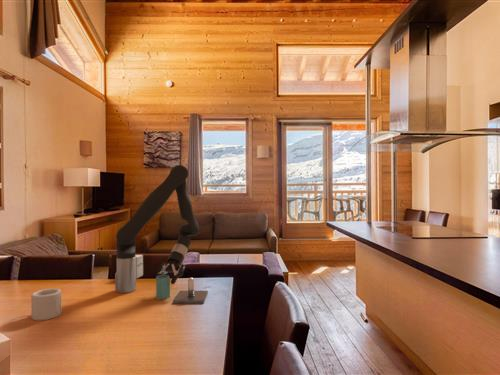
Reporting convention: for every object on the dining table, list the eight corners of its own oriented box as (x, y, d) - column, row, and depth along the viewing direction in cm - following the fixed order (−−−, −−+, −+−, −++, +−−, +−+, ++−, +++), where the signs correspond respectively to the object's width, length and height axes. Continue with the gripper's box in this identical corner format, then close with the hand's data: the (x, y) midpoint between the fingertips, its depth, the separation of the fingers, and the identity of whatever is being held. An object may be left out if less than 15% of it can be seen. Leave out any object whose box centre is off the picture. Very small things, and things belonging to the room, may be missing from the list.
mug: (67, 312, 143) (67, 289, 143) (44, 322, 132) (44, 297, 132) (44, 309, 147) (43, 286, 147) (20, 318, 137) (19, 293, 137)
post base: (173, 303, 152) (172, 282, 152) (179, 293, 166) (179, 273, 166) (203, 303, 152) (203, 281, 152) (207, 293, 166) (207, 273, 166)
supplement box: (137, 278, 194) (136, 257, 194) (125, 278, 196) (125, 256, 196) (143, 275, 201) (143, 254, 201) (132, 274, 203) (132, 254, 203)
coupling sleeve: (153, 298, 160) (153, 277, 160) (161, 294, 165) (161, 274, 165) (164, 299, 157) (164, 278, 157) (172, 296, 163) (171, 275, 163)
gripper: (163, 249, 173) (149, 277, 163) (186, 251, 168) (173, 280, 157) (169, 257, 178) (156, 285, 168) (192, 259, 173) (180, 288, 162)
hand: (164, 282), depth 162 cm, fingers open, 8 cm apart
